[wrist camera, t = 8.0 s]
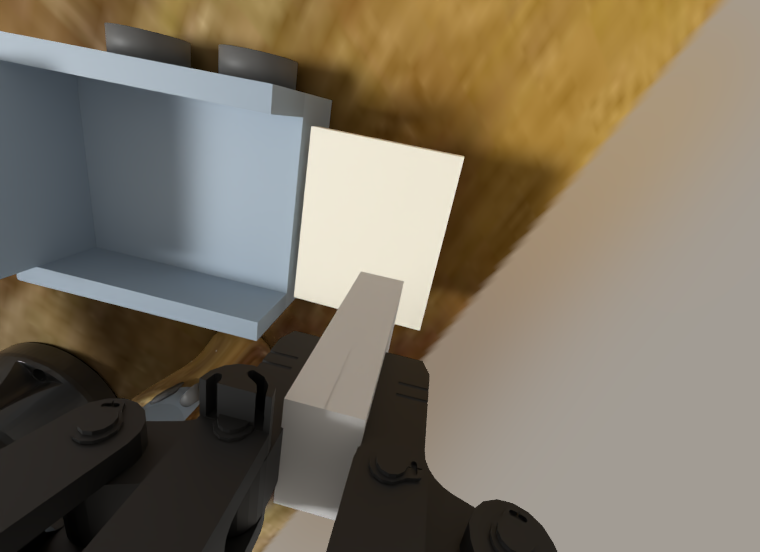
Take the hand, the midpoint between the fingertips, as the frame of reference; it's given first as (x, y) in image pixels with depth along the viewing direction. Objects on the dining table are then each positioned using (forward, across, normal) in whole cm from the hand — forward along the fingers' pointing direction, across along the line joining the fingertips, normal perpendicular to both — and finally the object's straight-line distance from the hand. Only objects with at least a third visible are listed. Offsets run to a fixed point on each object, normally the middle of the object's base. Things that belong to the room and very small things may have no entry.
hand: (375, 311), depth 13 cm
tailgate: (+9, -6, 0) cm, 11 cm away
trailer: (+14, -10, 0) cm, 17 cm away
